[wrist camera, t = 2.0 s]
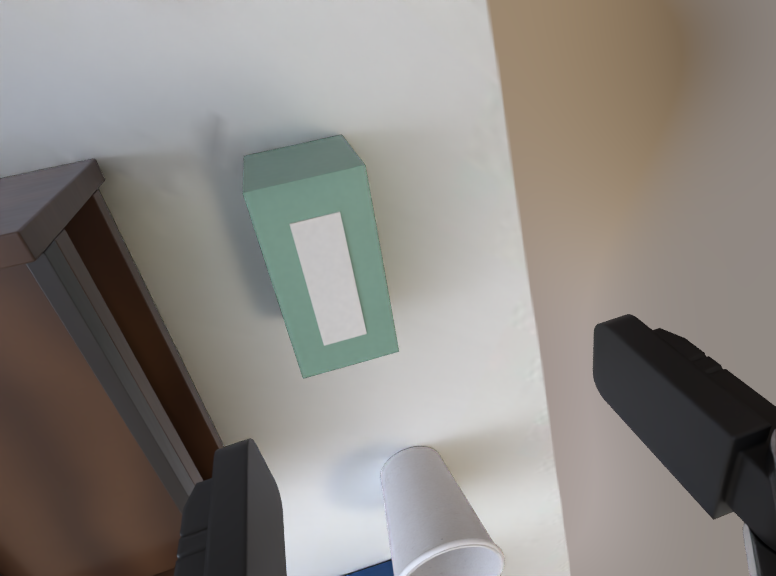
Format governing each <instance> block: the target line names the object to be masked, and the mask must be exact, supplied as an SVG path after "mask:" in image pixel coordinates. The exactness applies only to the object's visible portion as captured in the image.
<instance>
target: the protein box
mask: <svg viewBox="0 0 776 576" xmlns="http://www.w3.org/2000/svg"><path fill="white" fill-rule="evenodd" d="M345 576H394V571H393V564H392V560H391V561H388V562H385V563H382V564H379V565H375V566H372V567H369V568H366V569H363V570H360V571H357V572H354V573H351V574H348V575H345Z"/></svg>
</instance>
